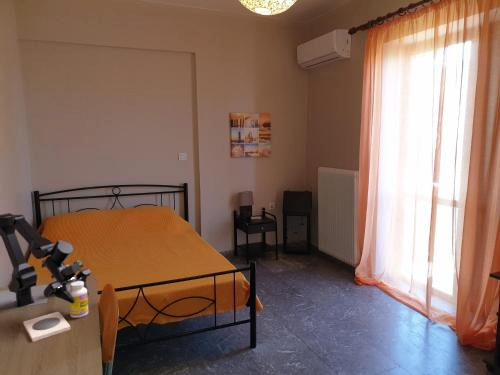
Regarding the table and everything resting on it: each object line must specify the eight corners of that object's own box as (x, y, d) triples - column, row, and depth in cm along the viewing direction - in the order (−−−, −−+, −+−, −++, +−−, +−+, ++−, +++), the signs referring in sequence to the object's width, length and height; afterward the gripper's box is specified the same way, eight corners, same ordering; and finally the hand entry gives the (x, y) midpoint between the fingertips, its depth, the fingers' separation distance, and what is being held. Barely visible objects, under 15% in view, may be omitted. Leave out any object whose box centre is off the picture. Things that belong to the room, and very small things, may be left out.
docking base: (23, 324, 136) (23, 321, 136) (58, 314, 144) (58, 310, 143) (32, 341, 124) (32, 338, 124) (70, 329, 132) (70, 325, 132)
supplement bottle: (81, 319, 139) (78, 287, 138) (66, 317, 140) (63, 286, 139) (92, 311, 146) (90, 280, 144) (77, 310, 147) (75, 279, 145)
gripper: (46, 263, 133) (70, 296, 130) (86, 249, 150) (108, 278, 147) (32, 281, 137) (56, 314, 134) (73, 265, 154) (95, 294, 151)
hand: (81, 299), depth 142 cm, fingers closed on supplement bottle, 7 cm apart
